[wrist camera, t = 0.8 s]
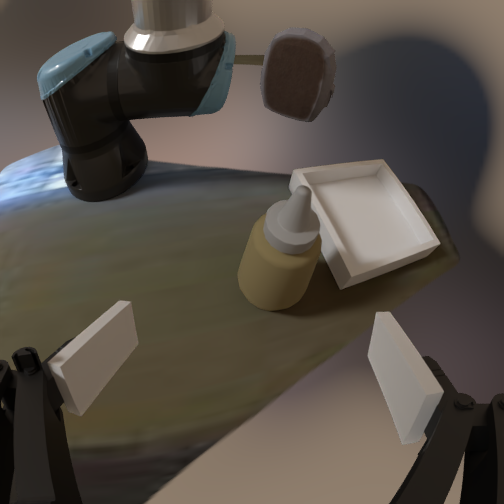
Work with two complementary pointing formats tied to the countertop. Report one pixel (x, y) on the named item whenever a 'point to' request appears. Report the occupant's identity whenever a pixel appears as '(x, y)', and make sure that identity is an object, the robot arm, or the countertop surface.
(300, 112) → the small grey backpack
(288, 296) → the squeeze bottle
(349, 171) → the box
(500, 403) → the robot arm
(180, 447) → the countertop surface
